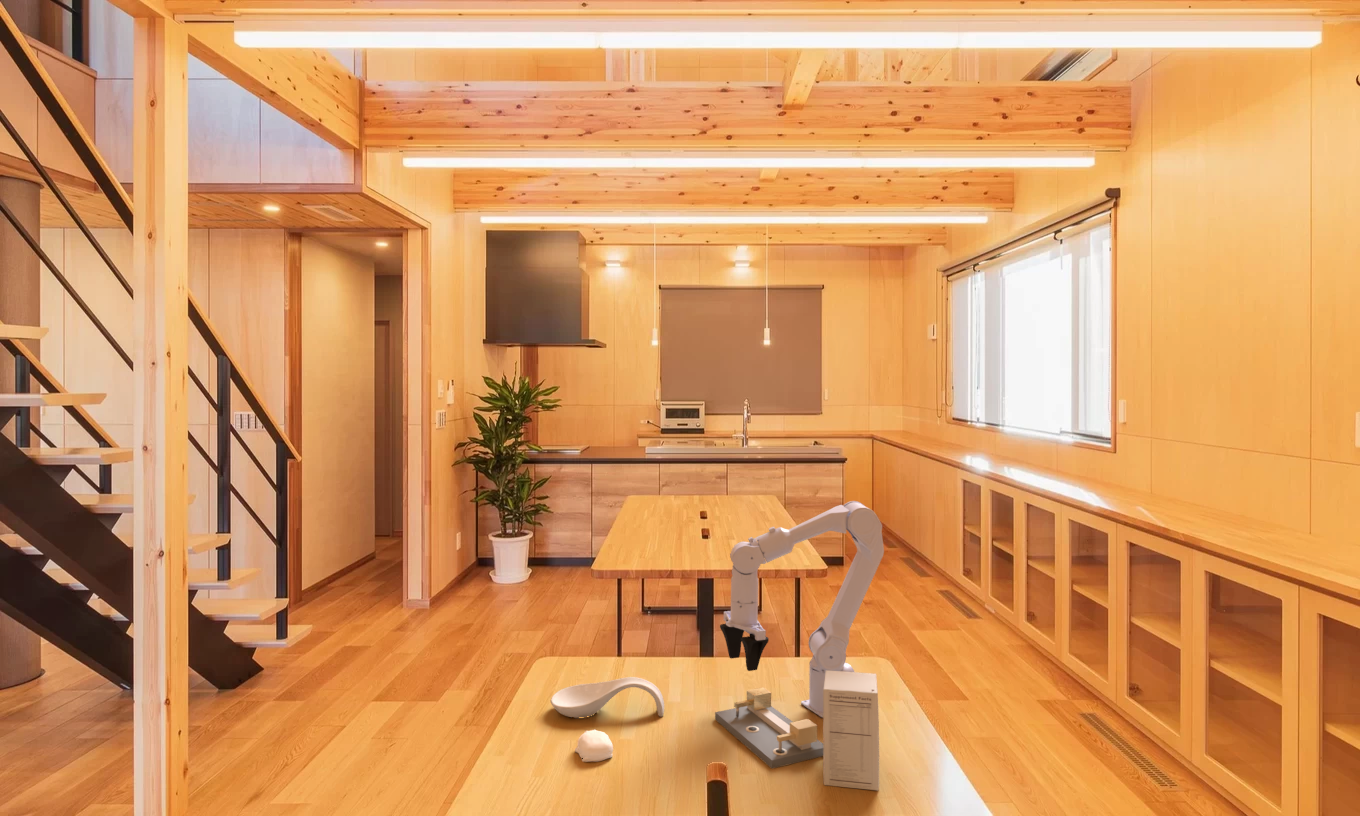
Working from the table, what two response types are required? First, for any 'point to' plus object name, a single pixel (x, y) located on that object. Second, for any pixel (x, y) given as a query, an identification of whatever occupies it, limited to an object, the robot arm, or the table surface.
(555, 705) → the spoon rest
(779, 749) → the plate
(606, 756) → the white rounded lump
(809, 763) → the table surface
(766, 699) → the sliding trammel head
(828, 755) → the supplement box
